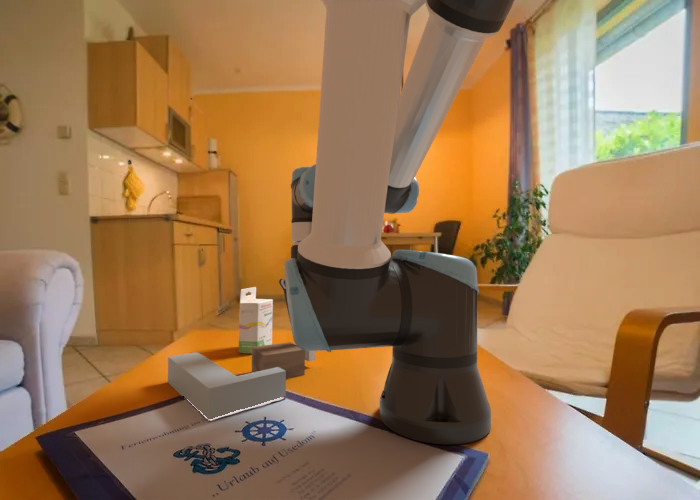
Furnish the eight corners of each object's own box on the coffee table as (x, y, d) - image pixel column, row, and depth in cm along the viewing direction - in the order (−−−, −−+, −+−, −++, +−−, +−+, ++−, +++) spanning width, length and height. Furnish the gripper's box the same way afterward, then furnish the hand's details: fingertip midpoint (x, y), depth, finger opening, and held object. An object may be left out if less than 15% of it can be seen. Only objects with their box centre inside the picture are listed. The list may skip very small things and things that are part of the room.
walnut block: (304, 375, 69) (304, 349, 69) (263, 383, 65) (264, 355, 65) (290, 366, 75) (290, 342, 75) (251, 372, 71) (252, 346, 71)
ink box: (257, 354, 83) (258, 289, 83) (237, 353, 84) (238, 289, 84) (273, 345, 91) (273, 286, 91) (254, 344, 92) (255, 286, 92)
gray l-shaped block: (285, 399, 57) (285, 370, 57) (208, 421, 49) (209, 388, 49) (233, 368, 72) (233, 346, 72) (167, 382, 64) (168, 356, 64)
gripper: (324, 245, 82) (323, 350, 82) (272, 243, 73) (270, 360, 73) (345, 244, 76) (344, 357, 76) (291, 243, 68) (290, 370, 67)
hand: (308, 359), depth 74 cm, fingers closed
